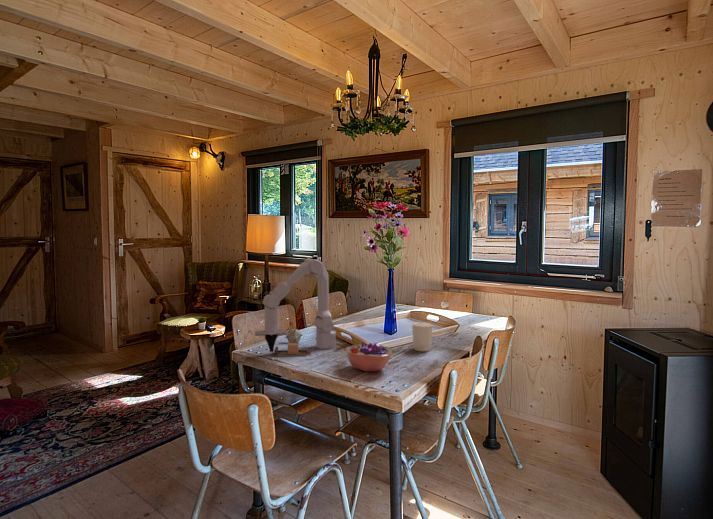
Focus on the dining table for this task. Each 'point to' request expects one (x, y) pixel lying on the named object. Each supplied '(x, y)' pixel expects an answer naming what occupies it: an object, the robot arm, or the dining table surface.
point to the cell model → (368, 356)
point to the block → (292, 348)
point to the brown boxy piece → (287, 352)
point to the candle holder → (422, 336)
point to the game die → (293, 335)
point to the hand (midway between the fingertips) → (271, 351)
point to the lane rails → (290, 355)
